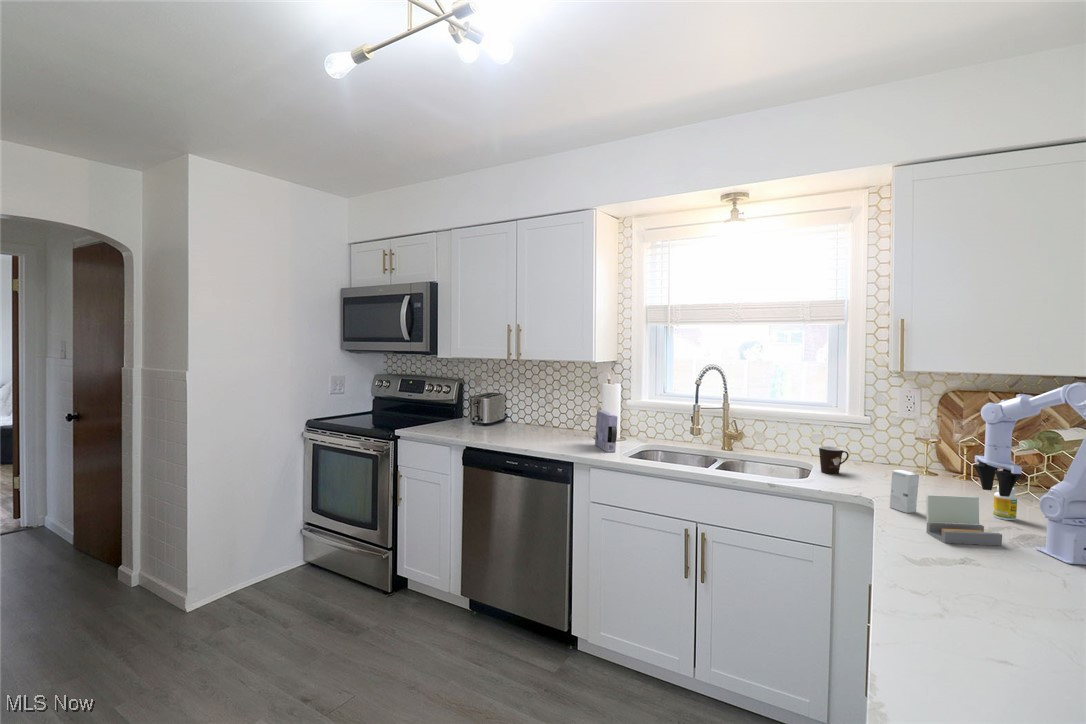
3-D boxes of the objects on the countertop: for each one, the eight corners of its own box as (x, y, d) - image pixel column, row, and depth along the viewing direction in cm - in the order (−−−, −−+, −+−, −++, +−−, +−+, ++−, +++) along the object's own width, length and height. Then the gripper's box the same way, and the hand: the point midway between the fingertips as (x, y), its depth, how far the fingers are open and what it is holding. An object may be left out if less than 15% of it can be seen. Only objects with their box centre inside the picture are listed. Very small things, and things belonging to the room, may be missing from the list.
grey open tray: (1001, 545, 137) (1002, 534, 137) (944, 543, 138) (945, 531, 138) (980, 535, 144) (980, 524, 144) (926, 532, 146) (926, 522, 146)
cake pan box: (617, 453, 245) (618, 415, 244) (607, 453, 244) (608, 415, 243) (604, 445, 264) (604, 410, 263) (594, 445, 263) (595, 410, 262)
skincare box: (888, 507, 169) (890, 470, 168) (899, 506, 170) (900, 469, 169) (907, 513, 163) (908, 474, 162) (917, 512, 164) (919, 473, 164)
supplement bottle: (996, 514, 164) (997, 483, 163) (1018, 519, 159) (1020, 487, 159) (990, 517, 161) (991, 486, 160) (1012, 522, 156) (1014, 490, 156)
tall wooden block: (985, 538, 140) (985, 532, 140) (945, 536, 141) (945, 530, 141) (980, 536, 142) (980, 530, 142) (941, 534, 142) (941, 528, 142)
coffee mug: (820, 474, 212) (821, 449, 211) (816, 469, 220) (816, 445, 219) (853, 476, 208) (854, 451, 208) (847, 471, 216) (848, 447, 216)
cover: (978, 497, 145) (976, 496, 146) (928, 495, 146) (926, 494, 147) (979, 524, 144) (977, 523, 145) (928, 522, 145) (926, 521, 146)
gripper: (1034, 451, 142) (1032, 501, 142) (993, 441, 156) (991, 486, 157) (1006, 450, 142) (1004, 499, 143) (968, 440, 157) (965, 485, 157)
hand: (995, 492), depth 150 cm, fingers open, 6 cm apart
